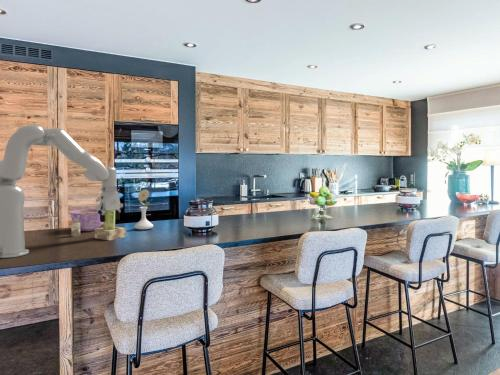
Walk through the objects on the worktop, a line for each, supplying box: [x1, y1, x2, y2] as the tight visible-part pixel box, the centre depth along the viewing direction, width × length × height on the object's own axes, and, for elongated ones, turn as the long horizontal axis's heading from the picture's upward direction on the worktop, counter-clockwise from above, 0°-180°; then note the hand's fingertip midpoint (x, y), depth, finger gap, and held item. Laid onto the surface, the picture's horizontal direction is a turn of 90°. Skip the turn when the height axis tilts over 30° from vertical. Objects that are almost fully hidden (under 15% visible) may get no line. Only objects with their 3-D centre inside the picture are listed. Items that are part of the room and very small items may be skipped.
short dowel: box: [70, 222, 81, 238], centre depth 200 cm, size 4×4×7 cm
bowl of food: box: [69, 208, 104, 232], centre depth 218 cm, size 20×20×12 cm
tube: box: [103, 210, 116, 230], centre depth 195 cm, size 6×5×20 cm
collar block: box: [94, 226, 127, 241], centre depth 196 cm, size 11×12×5 cm
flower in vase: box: [133, 189, 154, 230], centre depth 220 cm, size 13×11×25 cm
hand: (110, 220), depth 195 cm, fingers open, 9 cm apart
